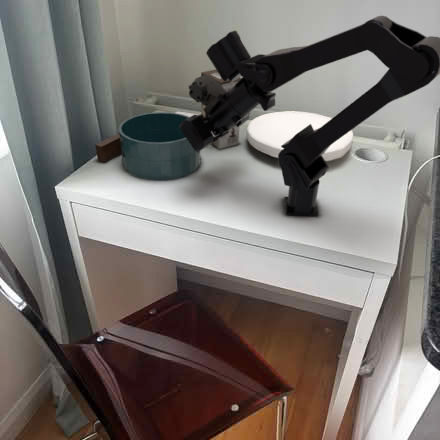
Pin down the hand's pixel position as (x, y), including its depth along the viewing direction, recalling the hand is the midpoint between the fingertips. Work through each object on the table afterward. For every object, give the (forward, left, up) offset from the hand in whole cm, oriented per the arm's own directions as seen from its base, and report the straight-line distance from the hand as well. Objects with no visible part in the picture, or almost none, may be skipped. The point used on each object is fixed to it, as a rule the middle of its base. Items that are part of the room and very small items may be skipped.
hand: (193, 142), depth 99 cm
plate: (+16, -25, -7) cm, 31 cm away
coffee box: (+18, -5, -7) cm, 20 cm away
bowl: (+5, +8, -7) cm, 12 cm away
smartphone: (+28, +7, -7) cm, 30 cm away
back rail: (+11, +18, -7) cm, 22 cm away
